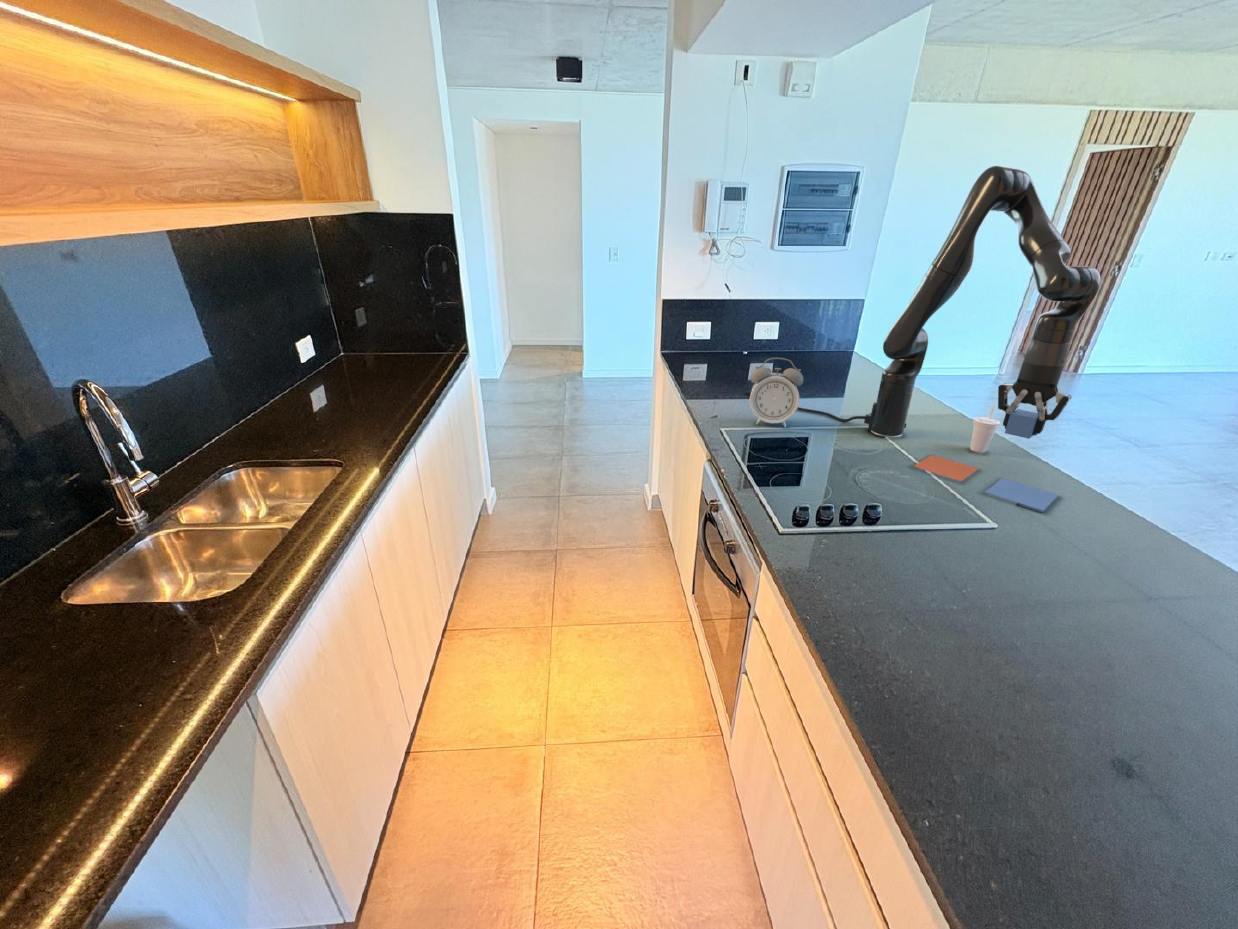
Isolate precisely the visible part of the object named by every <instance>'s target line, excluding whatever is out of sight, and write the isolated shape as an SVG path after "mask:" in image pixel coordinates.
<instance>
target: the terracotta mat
mask: <svg viewBox="0 0 1238 929" xmlns="http://www.w3.org/2000/svg"><path fill="white" fill-rule="evenodd" d="M913 467H914V468H918V469H921V470H924V471H926V472H929V473H932V474H937V475H938V476H939V475H940V476H943V477H946V478H949V479H952V480H955V481H959V482H963V481H964V480H965V479H967V478H968V477H969V476H971V475H973V474H974V473H975V472H977V471H979V468H978V467H975V466H972V465H969V464H966V463H962V462H958V461H954V460H951V459H948V458H944V457H940V456H937V455H934V454H931V455H929V456H927V457H926V458H924V459H922V460H921V461H919V462H918V463H916V464H914V465H913Z"/></svg>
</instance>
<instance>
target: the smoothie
mask: <svg viewBox="0 0 1238 929" xmlns="http://www.w3.org/2000/svg"><path fill="white" fill-rule="evenodd" d="M994 411H995V405H992V406H991V408H990V412H989V416H988V417H987V416H977V417H976V416H975V417H974V418H973V421H972V423H973V429H972V435H971V441H970V448H969V449H970V450H971V451H973V452H976V453H982V454H983V453H987V451H988V448H989V446H990V444H991V442H992V439H993V438H994V436H995V433H996V432H997V429H998V428H999V427H1000V426H1001V421H1000V420H998V419H995V418H992V417H993V414H994Z"/></svg>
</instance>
